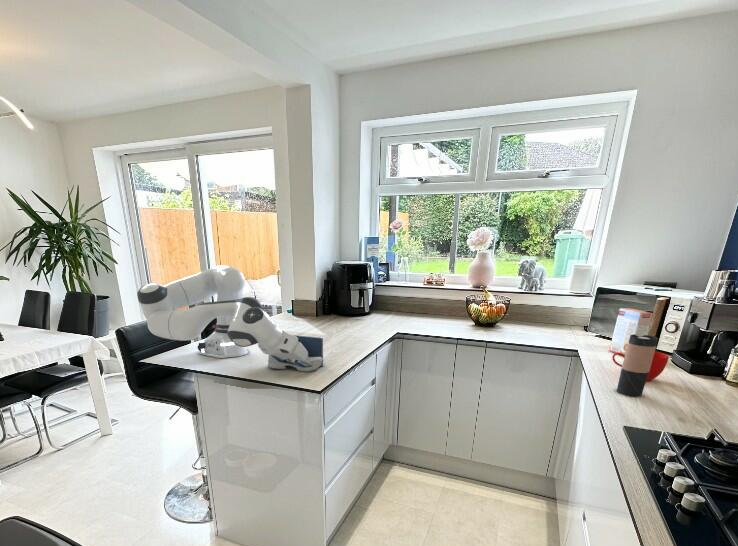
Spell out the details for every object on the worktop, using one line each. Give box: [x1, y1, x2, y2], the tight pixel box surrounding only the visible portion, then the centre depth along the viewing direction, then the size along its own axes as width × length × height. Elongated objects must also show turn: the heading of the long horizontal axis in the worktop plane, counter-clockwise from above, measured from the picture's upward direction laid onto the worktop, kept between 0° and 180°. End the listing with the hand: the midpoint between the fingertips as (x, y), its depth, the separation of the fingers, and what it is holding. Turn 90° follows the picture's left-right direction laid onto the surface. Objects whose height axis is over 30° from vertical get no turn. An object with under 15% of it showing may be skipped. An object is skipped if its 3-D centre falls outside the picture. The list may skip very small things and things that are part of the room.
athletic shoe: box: [267, 355, 324, 373], centre depth 162 cm, size 10×23×12 cm, turn 90°
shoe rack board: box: [293, 334, 324, 368], centre depth 167 cm, size 20×1×12 cm, turn 69°
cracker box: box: [608, 307, 654, 355], centre depth 182 cm, size 14×6×21 cm, turn 179°
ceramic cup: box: [611, 350, 670, 382], centre depth 152 cm, size 13×17×10 cm
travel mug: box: [616, 334, 659, 398], centre depth 135 cm, size 8×8×20 cm
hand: (291, 360), depth 157 cm, fingers closed
